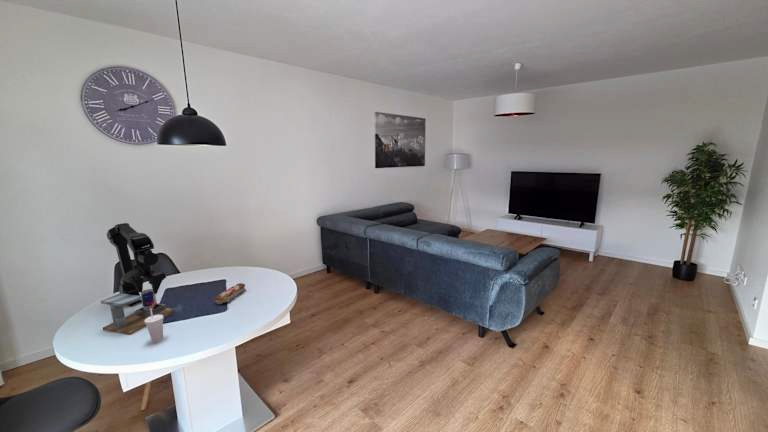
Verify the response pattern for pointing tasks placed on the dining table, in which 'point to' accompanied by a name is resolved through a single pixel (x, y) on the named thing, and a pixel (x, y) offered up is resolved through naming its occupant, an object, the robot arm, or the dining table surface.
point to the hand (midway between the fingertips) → (148, 292)
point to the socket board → (133, 320)
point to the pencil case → (230, 293)
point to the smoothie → (155, 326)
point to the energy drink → (148, 300)
